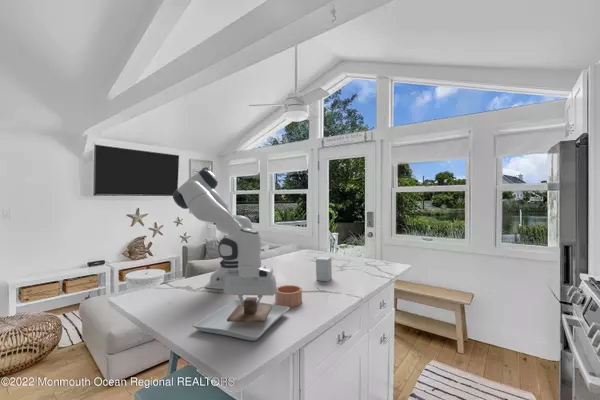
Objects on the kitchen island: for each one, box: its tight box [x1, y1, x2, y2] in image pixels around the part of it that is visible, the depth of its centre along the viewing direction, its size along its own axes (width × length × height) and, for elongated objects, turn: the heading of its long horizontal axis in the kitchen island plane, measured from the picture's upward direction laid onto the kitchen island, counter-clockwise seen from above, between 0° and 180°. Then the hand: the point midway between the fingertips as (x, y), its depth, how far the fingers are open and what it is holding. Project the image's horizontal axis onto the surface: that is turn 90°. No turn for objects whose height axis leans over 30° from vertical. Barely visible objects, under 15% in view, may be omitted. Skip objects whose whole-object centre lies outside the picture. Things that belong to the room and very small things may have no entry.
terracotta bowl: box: [274, 284, 303, 308], centre depth 131 cm, size 12×12×6 cm
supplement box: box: [315, 256, 333, 282], centre depth 166 cm, size 7×7×13 cm
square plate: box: [192, 299, 290, 342], centre depth 110 cm, size 27×27×4 cm
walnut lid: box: [227, 296, 272, 323], centre depth 110 cm, size 14×14×6 cm
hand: (250, 305), depth 110 cm, fingers closed on walnut lid, 4 cm apart
